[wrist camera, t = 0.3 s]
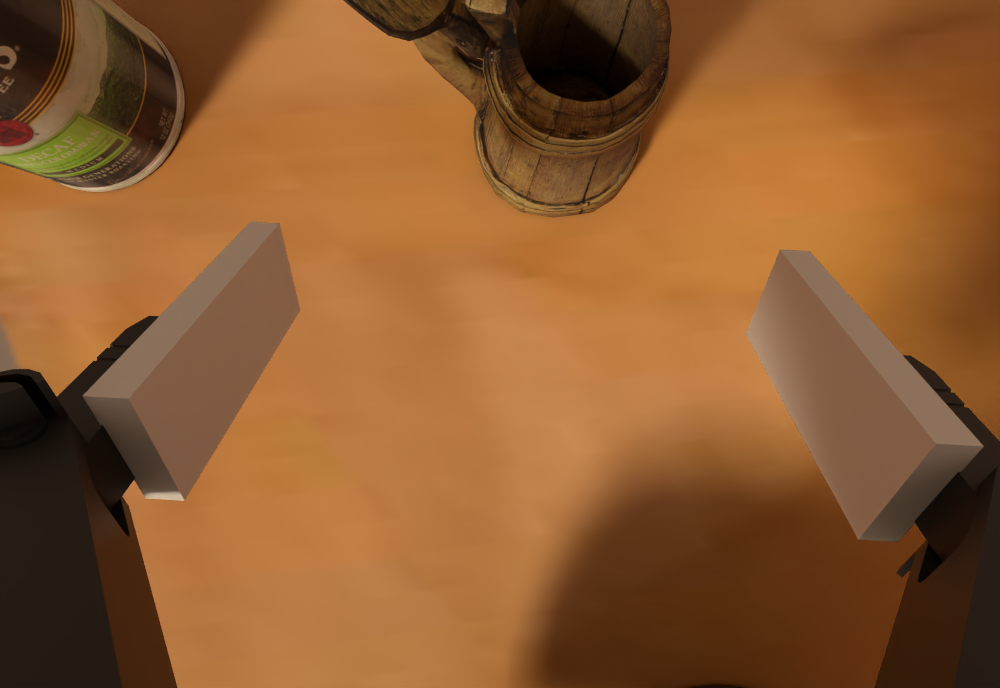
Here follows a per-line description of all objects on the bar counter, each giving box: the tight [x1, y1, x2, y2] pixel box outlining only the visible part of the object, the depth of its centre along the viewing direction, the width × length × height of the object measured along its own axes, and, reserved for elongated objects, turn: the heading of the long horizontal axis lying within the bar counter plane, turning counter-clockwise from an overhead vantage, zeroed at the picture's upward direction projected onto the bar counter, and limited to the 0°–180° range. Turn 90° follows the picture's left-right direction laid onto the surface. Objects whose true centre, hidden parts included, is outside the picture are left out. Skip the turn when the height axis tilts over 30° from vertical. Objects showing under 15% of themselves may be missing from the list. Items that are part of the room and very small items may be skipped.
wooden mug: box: [344, 0, 671, 217], centre depth 21 cm, size 9×14×18 cm, turn 77°
